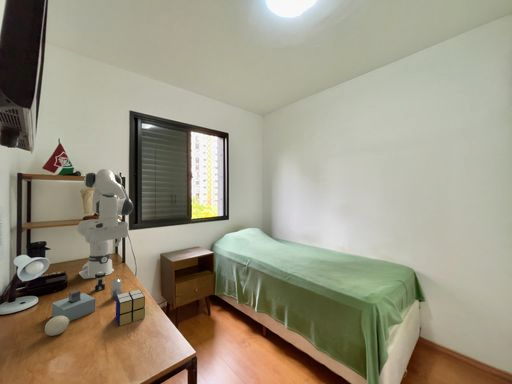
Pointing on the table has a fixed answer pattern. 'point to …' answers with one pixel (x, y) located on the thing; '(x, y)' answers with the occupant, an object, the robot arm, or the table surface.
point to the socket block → (74, 307)
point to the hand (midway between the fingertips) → (107, 247)
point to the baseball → (56, 325)
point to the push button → (99, 281)
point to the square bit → (74, 296)
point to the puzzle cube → (130, 307)
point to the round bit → (116, 288)
